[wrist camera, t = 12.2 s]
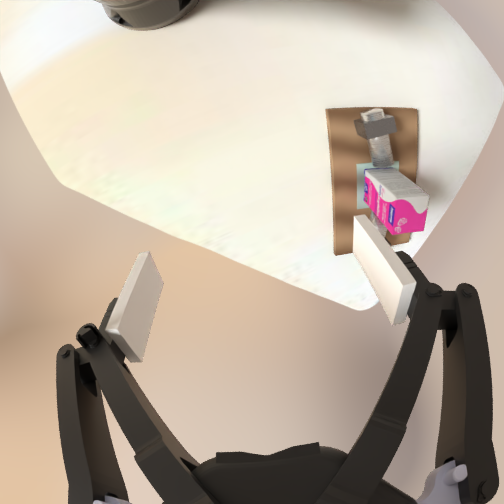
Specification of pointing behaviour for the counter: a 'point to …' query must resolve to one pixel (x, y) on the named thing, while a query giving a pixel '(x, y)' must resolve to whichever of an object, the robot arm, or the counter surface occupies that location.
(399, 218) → the supplement box
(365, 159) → the board
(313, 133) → the counter surface
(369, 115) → the grey collared shaft
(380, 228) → the shaft
